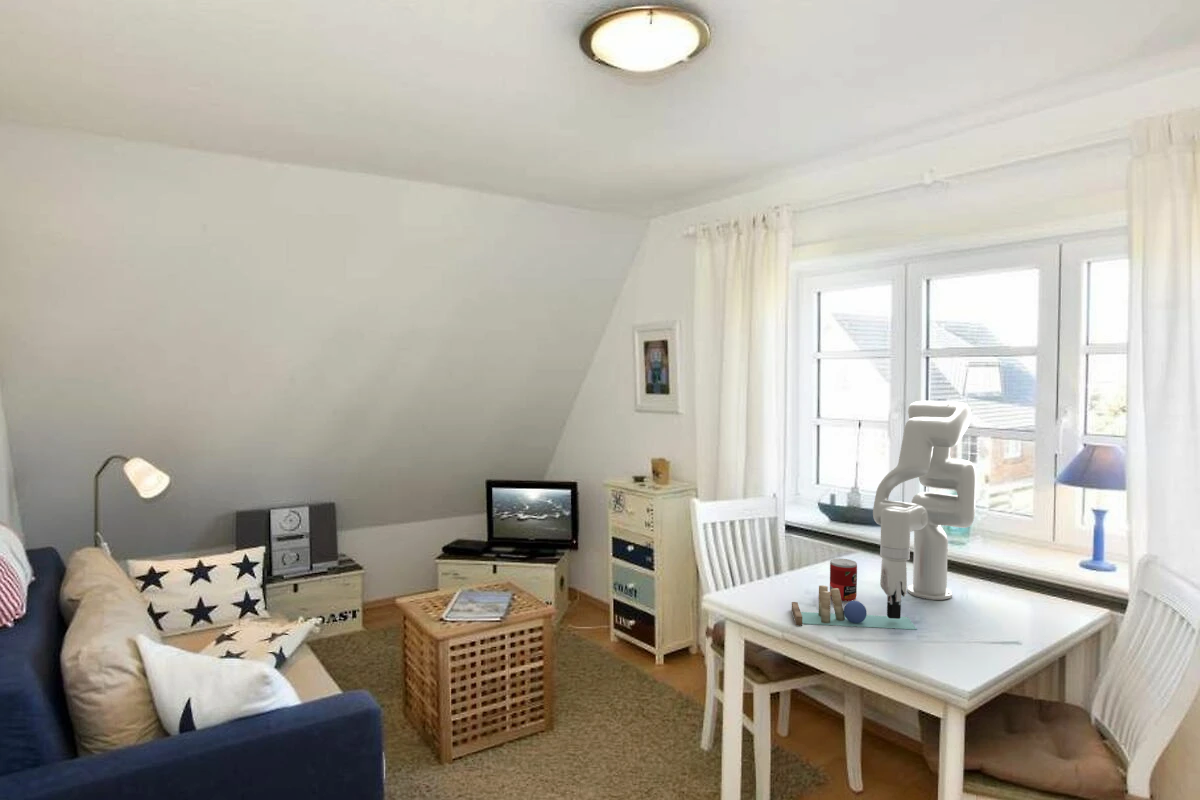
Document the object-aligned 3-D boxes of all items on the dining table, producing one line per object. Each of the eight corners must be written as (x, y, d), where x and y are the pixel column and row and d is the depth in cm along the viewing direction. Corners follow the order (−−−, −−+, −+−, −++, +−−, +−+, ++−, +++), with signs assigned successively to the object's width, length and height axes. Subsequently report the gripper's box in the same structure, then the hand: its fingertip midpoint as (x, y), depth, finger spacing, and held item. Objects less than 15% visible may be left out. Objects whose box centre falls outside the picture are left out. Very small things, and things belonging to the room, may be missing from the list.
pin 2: (820, 620, 201) (820, 590, 200) (829, 621, 200) (829, 591, 200) (821, 623, 198) (822, 593, 198) (830, 624, 198) (831, 594, 197)
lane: (798, 612, 207) (798, 611, 207) (908, 617, 203) (908, 617, 203) (802, 623, 198) (802, 623, 198) (917, 629, 194) (917, 629, 194)
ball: (847, 593, 202) (866, 604, 202) (836, 612, 202) (855, 622, 202) (854, 600, 196) (873, 611, 196) (843, 619, 196) (862, 630, 196)
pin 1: (817, 614, 206) (818, 585, 205) (826, 614, 205) (827, 585, 205) (819, 617, 203) (819, 587, 203) (827, 617, 203) (828, 588, 202)
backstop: (791, 610, 209) (791, 601, 209) (797, 610, 209) (797, 602, 209) (796, 625, 197) (796, 616, 197) (802, 625, 197) (802, 616, 197)
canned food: (847, 603, 215) (848, 567, 214) (824, 596, 221) (824, 561, 220) (861, 597, 220) (862, 562, 219) (838, 591, 226) (838, 556, 225)
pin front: (835, 618, 203) (829, 589, 202) (844, 617, 202) (838, 587, 202) (837, 621, 200) (831, 591, 200) (845, 620, 200) (839, 590, 200)
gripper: (874, 544, 206) (873, 607, 207) (887, 559, 191) (885, 626, 192) (902, 545, 205) (900, 608, 206) (916, 560, 190) (915, 628, 191)
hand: (893, 617), depth 199 cm, fingers closed
